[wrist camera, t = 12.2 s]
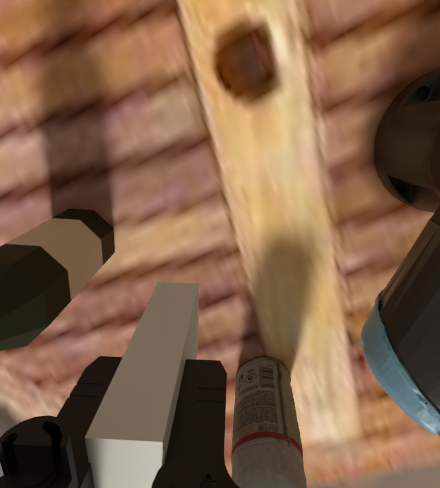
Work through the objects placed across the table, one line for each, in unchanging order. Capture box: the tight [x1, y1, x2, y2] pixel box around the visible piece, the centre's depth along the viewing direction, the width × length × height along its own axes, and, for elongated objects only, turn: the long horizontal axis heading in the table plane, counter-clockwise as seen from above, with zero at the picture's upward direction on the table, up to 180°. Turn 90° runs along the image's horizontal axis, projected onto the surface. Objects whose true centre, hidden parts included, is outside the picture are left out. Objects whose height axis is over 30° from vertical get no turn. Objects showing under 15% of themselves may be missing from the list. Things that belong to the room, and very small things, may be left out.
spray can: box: [231, 357, 307, 488], centre depth 41 cm, size 8×8×20 cm
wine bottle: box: [0, 209, 115, 351], centre depth 30 cm, size 8×8×30 cm
